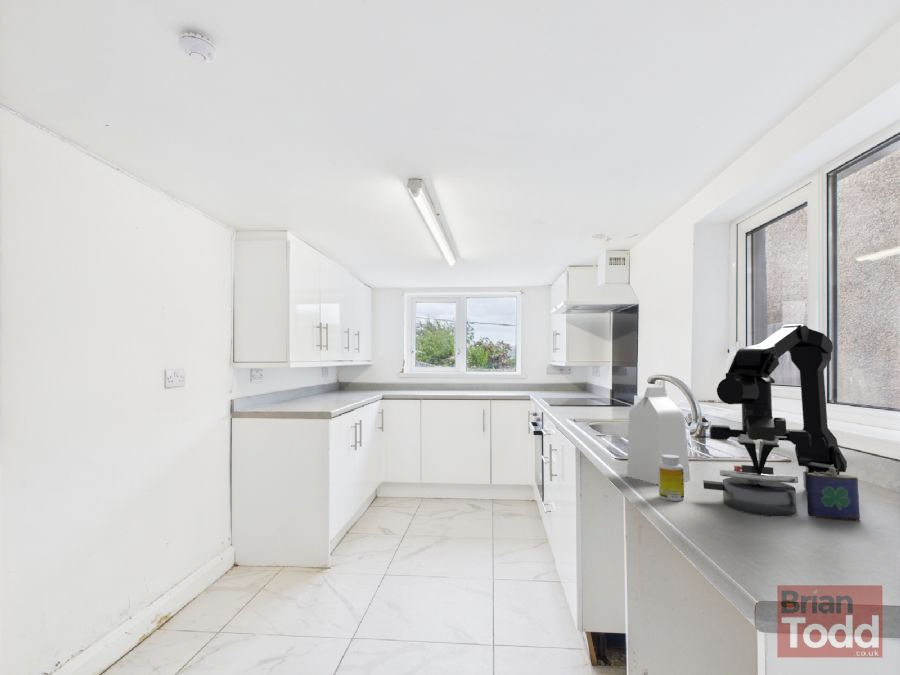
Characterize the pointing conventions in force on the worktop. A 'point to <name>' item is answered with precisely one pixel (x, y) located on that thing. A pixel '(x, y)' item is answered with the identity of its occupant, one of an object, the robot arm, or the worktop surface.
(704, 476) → the worktop surface
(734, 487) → the cooker pot
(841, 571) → the worktop surface
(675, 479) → the supplement bottle
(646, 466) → the milk
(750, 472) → the cooker lid
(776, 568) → the worktop surface
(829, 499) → the flask
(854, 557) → the worktop surface
